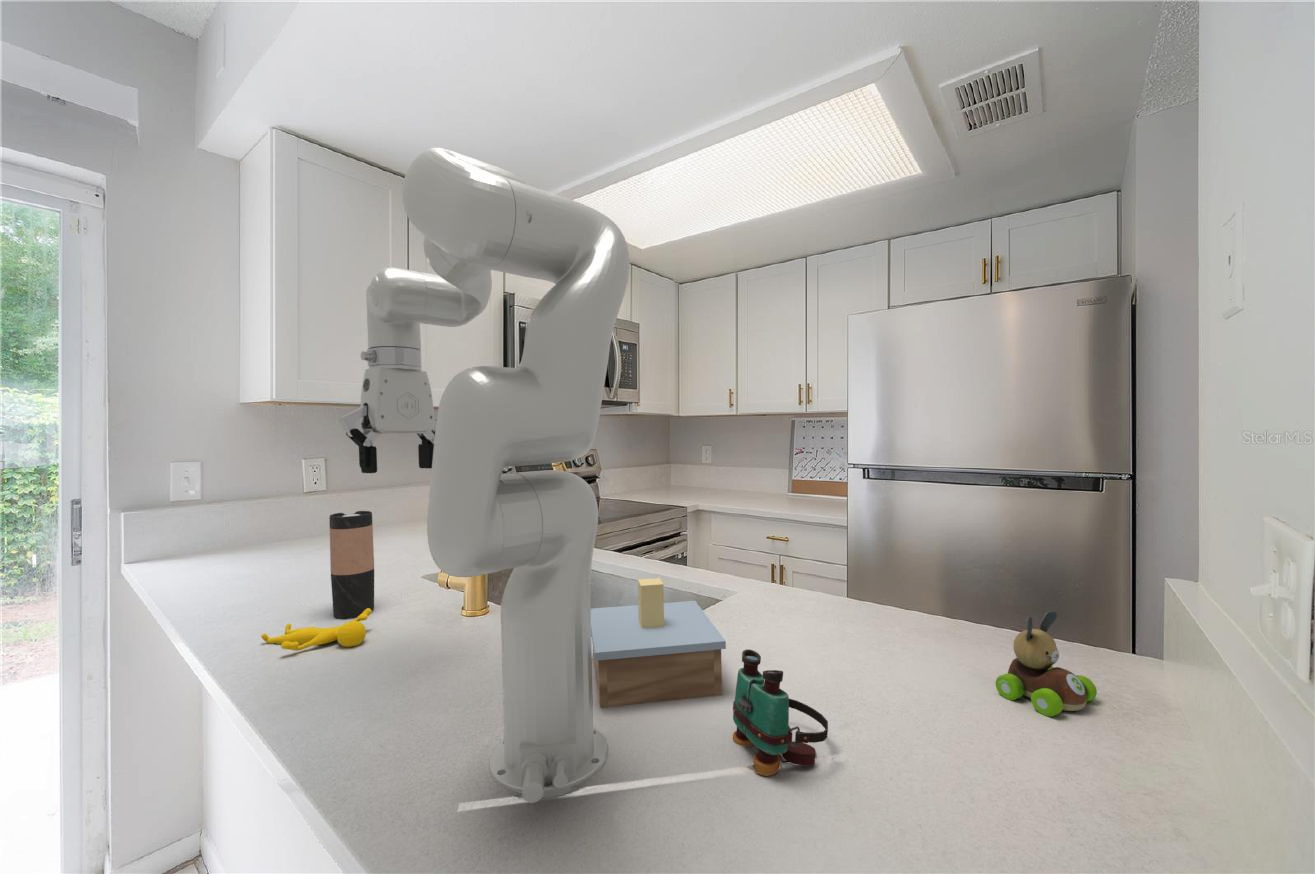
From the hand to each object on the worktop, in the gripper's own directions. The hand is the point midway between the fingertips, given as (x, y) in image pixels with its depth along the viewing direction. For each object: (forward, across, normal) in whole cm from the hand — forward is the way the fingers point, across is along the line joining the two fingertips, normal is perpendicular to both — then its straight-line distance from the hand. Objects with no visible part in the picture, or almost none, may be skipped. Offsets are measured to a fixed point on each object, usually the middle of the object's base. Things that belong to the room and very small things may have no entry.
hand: (399, 470), depth 87 cm
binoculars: (+31, +7, -59) cm, 67 cm away
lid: (+24, +14, -38) cm, 46 cm away
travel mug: (+30, +8, +30) cm, 43 cm away
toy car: (+31, +35, -85) cm, 97 cm away
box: (+31, +14, -38) cm, 50 cm away
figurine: (+30, -3, +20) cm, 37 cm away
